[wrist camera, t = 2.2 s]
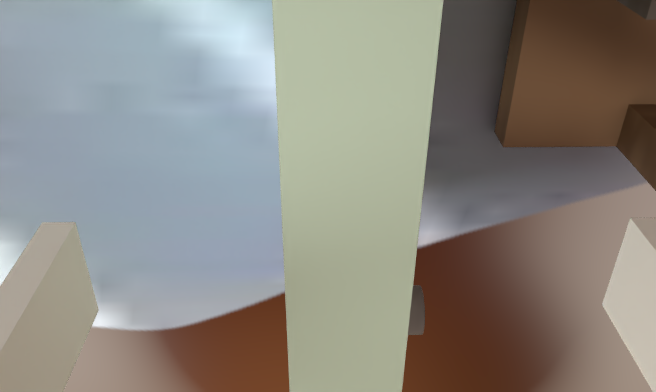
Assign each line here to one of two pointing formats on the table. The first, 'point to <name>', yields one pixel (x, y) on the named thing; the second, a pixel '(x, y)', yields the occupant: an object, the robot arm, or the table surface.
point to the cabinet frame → (582, 78)
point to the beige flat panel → (352, 183)
